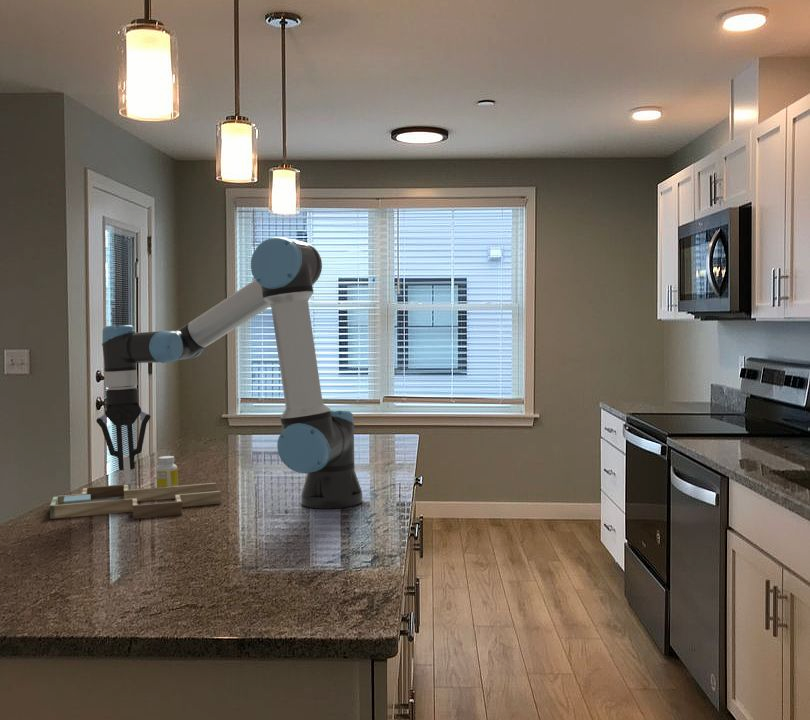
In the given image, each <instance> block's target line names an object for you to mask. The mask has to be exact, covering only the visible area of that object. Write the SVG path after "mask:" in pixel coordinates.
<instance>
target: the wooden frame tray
mask: <svg viewBox="0 0 810 720" xmlns="http://www.w3.org/2000/svg"><path fill="white" fill-rule="evenodd" d="M88 494H91V502H84V503H72V504H64V497H65V496H76V495H88ZM171 499H174V501H165V502H164V501H163V502H156V503H155V502H154V503H144V504H138V502H148V501H159V500H161V501H162V500H171ZM217 504H222V492H221V490H217V482H210V483H209V482H207V483H196V484H183V485H178V486H170V487H158V488H157V487H147V488H134V489H129V484H125V483H124V484H113V485H101V486H99V485H98V486H86V487H83V488H82V492H81V493H77V494H76V493H74V494H64V495H54V496H53V497H52V500H51V502H50V505H49V517H50V520H54V519H64V518H65V519H66V518H75V517H77V518H78V517H87V516H97V515H98V516H99V515H107V514H108V515H109V514H118V513H119V514H120V513H130V512H131V513H132V516H133V518H132V519H133V520H135V519H136V520H137V519H145V518H146V519H147V518H158V517H166V516H167V517H168V516H179V515H183V508H185V507H197V506H208V505H217Z"/></svg>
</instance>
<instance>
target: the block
mask: <svg viewBox="0 0 810 720" xmlns="http://www.w3.org/2000/svg"><path fill="white" fill-rule="evenodd" d="M84 502H91V494H88V495H76V496H65V497H64V504H72V503H84Z"/></svg>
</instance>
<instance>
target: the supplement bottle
mask: <svg viewBox="0 0 810 720" xmlns="http://www.w3.org/2000/svg"><path fill="white" fill-rule="evenodd" d="M174 462H175V456H173V455H164V456H163V455H162V456H159V457H158V464H159V465H157V466H156V488H158V487H170V486H179V474H178V472H179V470H178V466H177V465H176V464H175V463H174Z"/></svg>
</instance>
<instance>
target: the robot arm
mask: <svg viewBox="0 0 810 720" xmlns="http://www.w3.org/2000/svg"><path fill="white" fill-rule="evenodd" d="M322 269H323V262H322V257H321V255H320V253H319V252H318V250H317V249H316V247H314V246H313V245H312V244H310V243H308V242H306V241H304V240H303V241H302V240H297V239H293V238H290V237H286V236H275V237H269V238H267V239H265V240H263V241H261V242H260V243H259V244H258V245H257V246H256V248H255V249H254V251H253V253H252V255H251V259H250V270H251V274H252V276H253V278H254V280H253V281H251V282H249V283H248V284H246V285H245V286H244V287H241V289H239V290H237V291H235V292H234V293H232V294H231V295H230V296H228V297H227V298H225V299H223V300H221V302H219V303H217V304H216V305H214V306H212V307H211V308H209V309H208V310H207V311H205V312H203V313H202V314H200V315H199V316H197V317H195V318H194V319H192V320H191V321H189V322H188V323H187V324H185V325H183V326H182V327H180V328H178V329H177V330H159V331H145V332H136V331H135V328H134V325H131V324H127V325H126V324H124V325H123V324H121V325H107V326H104V327H103V329H102V343H101V346H102V352H103V353H102V354H103V364H104V371H103V372H104V386H105V388H107V390H106V391H105V399H106V400H105V403H106V409H105V410H104V414H102V415H101V416H100V417H97V418H96V423H97V424H98V426H99V427H100V428H101V431H102V434H103V436H104V439H105V442H106V446H107V448H108V452H109V455H110V456H112V457H116V458H117V462H118V470H119V471H123V476H124V477H123V478H124V484H128V485H129V484H132V479H131V478H132V474H131V470H135V468H136V463H135V462H136V461H135V457H136V455H138V454H141V453H142V450H143V444H144V440H145V434H146V430H147V425H148V422H149V421H150V419H151V414H150V413H148V412H147V413H146V411H145V412H144V411H143V410H142V408H141V406H140V402H139V401H140V400H139V390H138V388H137V387H136V386H138V371H137V364H143V363H144V364H150V363H152V364H155V363H161V364H164V363H170V362H177V361H182V360H184V361H185V360H186V361H189V360H191V359H193V358H197V357H199V356H201V354H202V353H203V351H204V349H205V348H206V347H208V346H209V345H211V344H213V343H215V342H216V341H218V340H219V339H221V338H223V337H224V336H226V335H227V334H228V333H230V332H232V331H234V330H235V329H236V328H238V327H240V326H241V325H243V324H244V323H247V322H248V321H249V320H251V319H252V318H255V317H256V316H258V315H259V314H261V313H262V312H263V311H265V310H267V309H269V308H271V314H272V322H273V328H274V335H275V343H276V349H277V355H278V362H279V364H278V365H279V370H280V376H281V383H282V391H283V397H284V404H285V410H284V411H283V412H282V414H281V415H280V422H281V424H280V425H281V430H282V431H281V433H280V435H279V436H278V438H277V442H276V443H277V444H276V446H277V447H276V449H277V453H278V457H279V458H280V460H281V462H282V463H283V464H284V466H286V467H287V468H288V469H290V470H291V471H293V472H294V473H295V472H296V473H298V474H306V477H305V480H304V484H303V488H302V490H301V491H302V492H301V494H300V495H301V497H300V498H301V499H300V501H301V503H300V504H301V505H302V506H305V507H308V508H313V509H341V508H349V507H353V506H357V505H359V504H360V503H362V502H363V491H362V487H361V485H360V482H359V479H358V476H357V473H356V470H355V428H354V427H355V422H354V416H353V413H352V412H351V411H350V410H335V409H334V410H331V408H329V406H327V405H326V404H324V401H323V397H322V396H323V395H322V389H321V382H320V374H319V369H318V362H317V354H316V348H315V339H314V334H313V333H314V332H313V328H312V326H313V325H312V320H311V314H310V313H311V312H310V306H309V300H310V299H311V297H312V295H313V294H314V287H313V285H314V284H316V282H317V281H318V280H319V278H320V276H321V274H322ZM139 416H140V417H139ZM138 418H140V421H141V423H140V428H139V432H138V437H137V445H136V448H135V447H134V446H135V445H134V434H133V433H134V432H133V424H134V423H135V422H136V420H137V419H138ZM107 419H108V420H109V421H110V422H111V423H112V424H113V425H114V426H115V430H116V431H115V432H116V447H117V449H115V447H114V443H113V441H112V437H111V434H110V431H109V429H108V426H107V423H108V420H107ZM122 426H126V431H127V446H128V455H124V450H123V447H124V446H123V433H122V430H123V429H122Z"/></svg>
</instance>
